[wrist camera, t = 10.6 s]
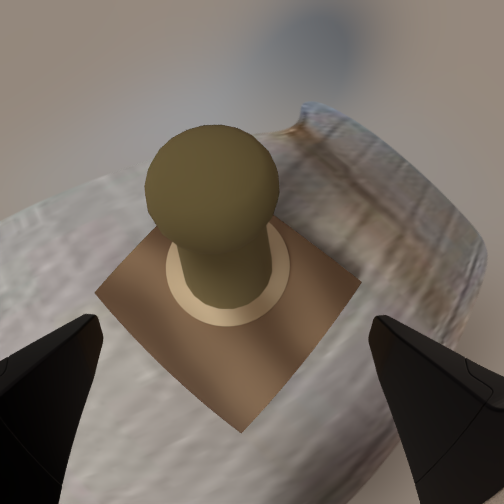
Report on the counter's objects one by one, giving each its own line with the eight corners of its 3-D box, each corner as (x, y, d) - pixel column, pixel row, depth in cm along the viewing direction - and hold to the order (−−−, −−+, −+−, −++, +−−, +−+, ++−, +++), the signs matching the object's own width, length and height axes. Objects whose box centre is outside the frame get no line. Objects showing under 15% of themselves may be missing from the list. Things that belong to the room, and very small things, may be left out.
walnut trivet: (241, 428, 18) (241, 434, 16) (103, 297, 21) (92, 291, 19) (354, 287, 21) (363, 281, 20) (214, 182, 24) (212, 169, 23)
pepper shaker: (165, 264, 20) (95, 167, 10) (228, 208, 22) (215, 85, 11) (226, 328, 18) (197, 282, 8) (291, 264, 20) (331, 161, 10)
